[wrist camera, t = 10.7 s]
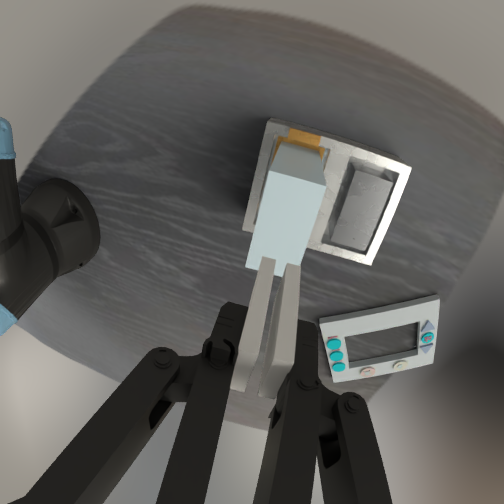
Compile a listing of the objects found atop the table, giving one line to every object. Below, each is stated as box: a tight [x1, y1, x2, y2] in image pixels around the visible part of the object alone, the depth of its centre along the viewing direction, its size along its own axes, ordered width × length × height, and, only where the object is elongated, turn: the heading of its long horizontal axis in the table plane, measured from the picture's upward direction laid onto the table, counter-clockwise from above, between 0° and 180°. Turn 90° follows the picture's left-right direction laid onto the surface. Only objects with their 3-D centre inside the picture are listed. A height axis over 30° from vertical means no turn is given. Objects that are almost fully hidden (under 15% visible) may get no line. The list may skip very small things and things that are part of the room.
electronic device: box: [319, 294, 440, 383], centre depth 44 cm, size 18×2×15 cm
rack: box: [242, 117, 412, 265], centre depth 32 cm, size 15×12×6 cm
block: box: [245, 141, 327, 277], centre depth 27 cm, size 4×8×12 cm, turn 168°
